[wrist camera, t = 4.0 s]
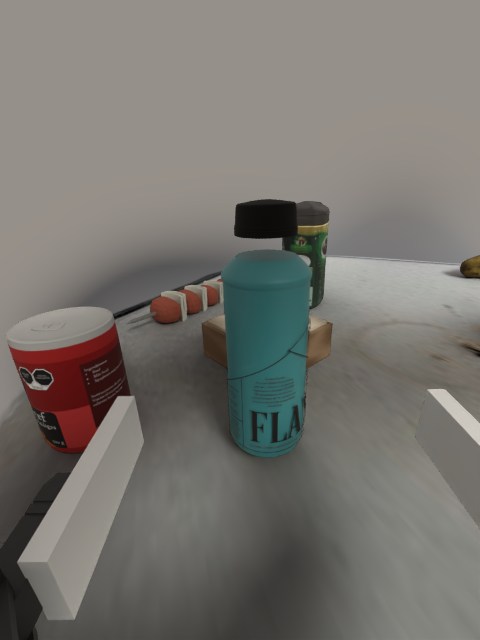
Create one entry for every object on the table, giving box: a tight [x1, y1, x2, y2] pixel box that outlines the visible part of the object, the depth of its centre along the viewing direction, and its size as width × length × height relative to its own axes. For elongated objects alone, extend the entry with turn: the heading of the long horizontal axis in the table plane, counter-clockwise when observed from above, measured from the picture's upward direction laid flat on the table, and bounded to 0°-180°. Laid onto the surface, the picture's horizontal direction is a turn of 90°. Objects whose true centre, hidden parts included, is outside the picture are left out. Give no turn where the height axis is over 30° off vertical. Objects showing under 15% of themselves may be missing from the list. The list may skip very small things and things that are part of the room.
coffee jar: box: [282, 201, 330, 308], centre depth 56 cm, size 10×8×19 cm
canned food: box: [6, 307, 131, 453], centre depth 27 cm, size 8×8×11 cm
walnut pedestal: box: [202, 315, 332, 369], centre depth 40 cm, size 12×12×5 cm
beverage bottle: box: [221, 199, 312, 457], centre depth 23 cm, size 6×7×20 cm
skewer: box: [127, 279, 224, 324], centre depth 57 cm, size 5×5×30 cm
